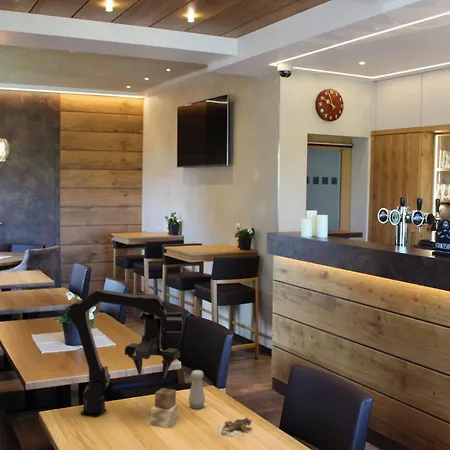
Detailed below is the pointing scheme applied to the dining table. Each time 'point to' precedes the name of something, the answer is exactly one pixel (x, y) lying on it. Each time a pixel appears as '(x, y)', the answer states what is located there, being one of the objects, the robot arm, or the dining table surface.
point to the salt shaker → (196, 390)
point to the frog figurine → (234, 427)
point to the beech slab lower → (163, 421)
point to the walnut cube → (165, 398)
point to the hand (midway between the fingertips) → (151, 376)
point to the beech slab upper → (164, 412)
